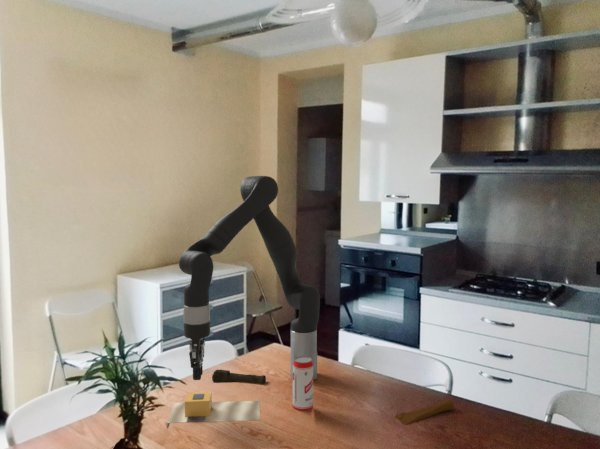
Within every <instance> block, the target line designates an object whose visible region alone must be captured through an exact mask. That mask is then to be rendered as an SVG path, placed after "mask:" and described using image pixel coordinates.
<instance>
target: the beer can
mask: <svg viewBox="0 0 600 449" xmlns="http://www.w3.org/2000/svg"><path fill="white" fill-rule="evenodd" d="M311 360H312V359H311V358H310V357H307V356H300V357H296V358H295V361H294V363H293V379H292V408H293V409H294V410H297V411H300V412H301V411H302V412H303V411H304V412H305V411H310V412H312V411H313V409H314V379H313V363H312V361H311Z"/></svg>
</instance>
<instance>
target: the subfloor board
mask: <svg viewBox="0 0 600 449" xmlns="http://www.w3.org/2000/svg"><path fill="white" fill-rule="evenodd" d="M260 409H261V400H242V401H241V400H239V401H238V400H236V401H234V400H233V401H212V408H211V412H210V416H191V417H185V402H174V405H173V406H172V409H171V411H170V414H169V416H168V419H167V421H166V429H168V428H169V427H170V424H174V423H175V424H178V423H179V424H180V423H181V424H182V423H183V424H184V423H185V424H186V423H211V422H212V423H217V422H248V421H249V422H250V421H252V422H253V421H260V415H261V414H260V411H261V410H260Z"/></svg>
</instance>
